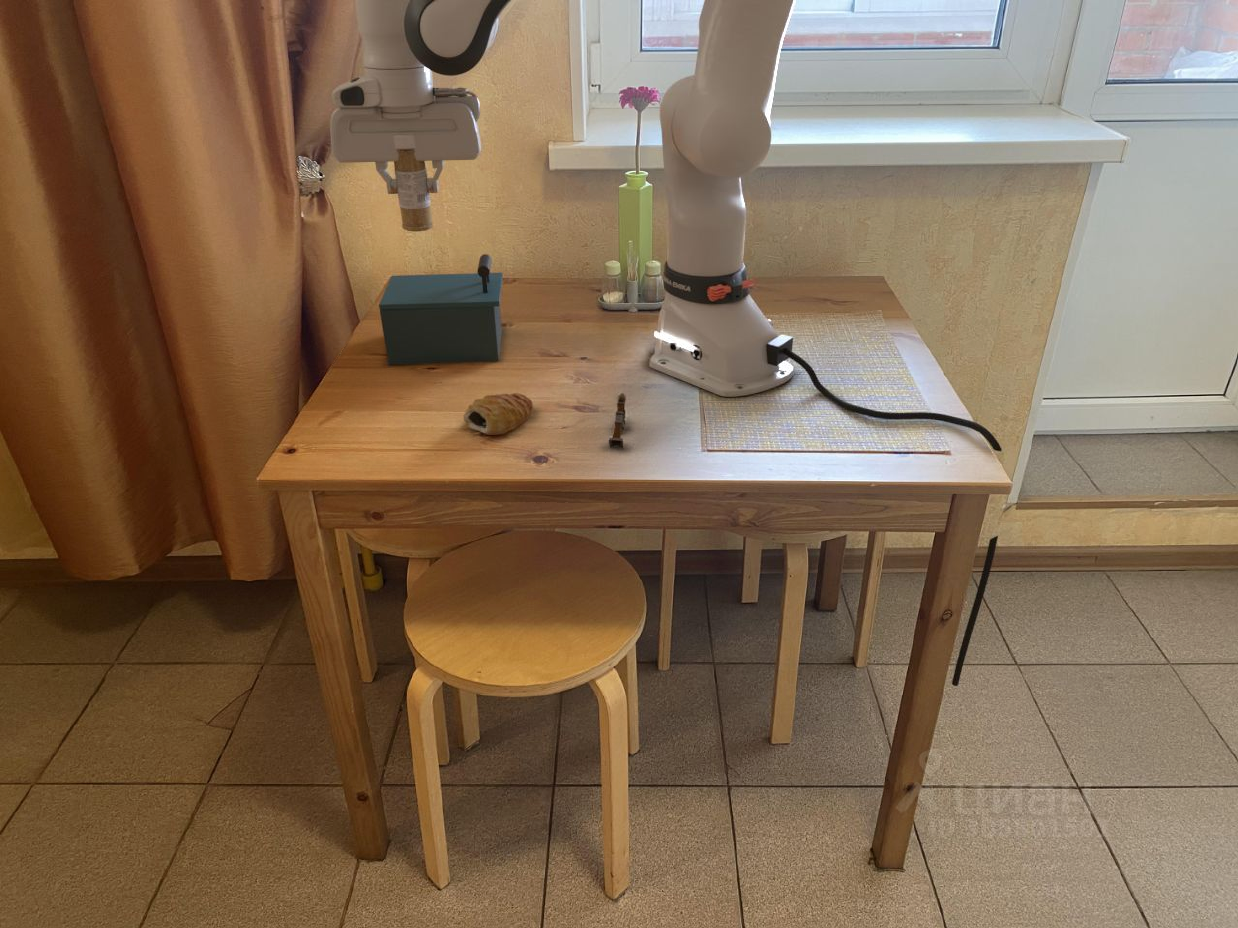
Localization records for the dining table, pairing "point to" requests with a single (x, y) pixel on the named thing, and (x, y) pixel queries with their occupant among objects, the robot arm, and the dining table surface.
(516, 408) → the pastry
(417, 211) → the sprinkles bottle
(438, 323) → the chest
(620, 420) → the wooden post with brackets
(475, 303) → the lid
